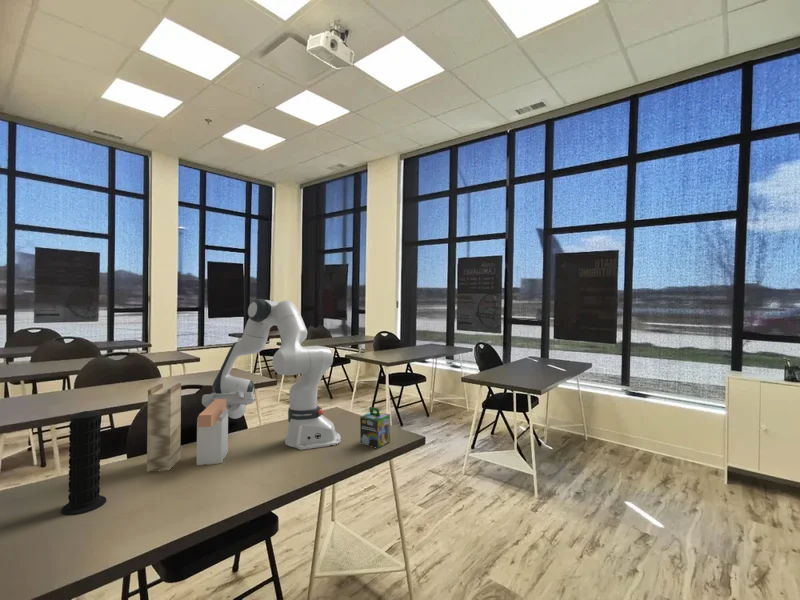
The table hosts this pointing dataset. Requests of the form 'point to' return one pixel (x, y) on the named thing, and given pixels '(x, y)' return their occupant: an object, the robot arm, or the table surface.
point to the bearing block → (163, 427)
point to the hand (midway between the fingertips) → (225, 394)
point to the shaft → (211, 413)
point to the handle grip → (84, 464)
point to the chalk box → (375, 428)
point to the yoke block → (213, 441)
